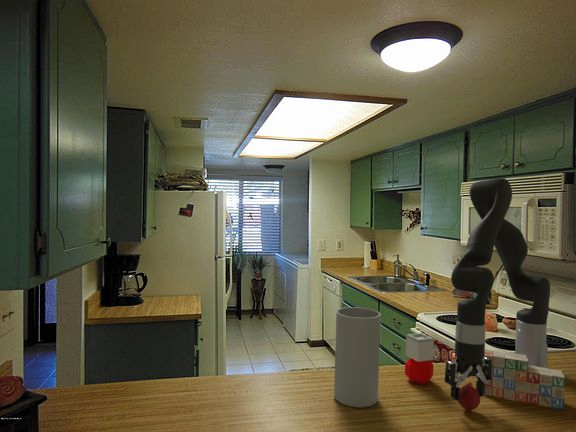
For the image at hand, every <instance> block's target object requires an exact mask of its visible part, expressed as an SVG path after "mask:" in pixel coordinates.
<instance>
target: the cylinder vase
mask: <svg viewBox="0 0 576 432" xmlns="http://www.w3.org/2000/svg"><path fill="white" fill-rule="evenodd" d="M335 312H336V318H335V319H336V320H335V348H334V349H335V352H334V380H333V383H334V385H333V387H334V388H333V389H334V391H333V396H334V398H335V400H336V401H338V402H339V403H340V404H341V405H344V406H347V407H349V408H351V407H352V408H358V409H359V408H369V407H372V406H374V405H375V404H376V403H377V402H378V400H379V378H380V377H379V374H380V369H379V368H380V347H381V346H380V343H381V342H380V341H381V338H380V337H381V313H380V311H377V310H375V309H372V308H367V307H366V308H365V307H354V306H353V307H351V306H350V307H340V308H338V309H337V310H336V311H335Z"/></svg>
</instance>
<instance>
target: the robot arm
mask: <svg viewBox="0 0 576 432" xmlns="http://www.w3.org/2000/svg"><path fill="white" fill-rule="evenodd" d="M511 185H512V184H510V182H509V180H507V179H506V178H503V177H499V178H493V179H486V180H480V181H475V182H473V183H472V184H471V185H470V187H469V198H470V201H471V204H472V205H473V208H474V209H475V211H476V213H477V215H478V216H479V218H480V219H481V221H479V223H477V224H476V225H475V227H473V229H472V230H471V232H470V233H469V236H468V238H467V239H468V240H467V242H466V247H465V251H464V252H463V254H462V256H461V258H460V259H459V261H458V262H457V264H456V265H455V266H454V268H453V271H452V273H451V276H450V277H451V278H450V279H451V284H452V286H453V288H454V289H456V290H458V291H462V292H469V293H474V294H475V293H476V295H477V296H475V298H472V299H471V298H469V299H461V300H459V301H458V302H457V306H456V307H457V309H456V310H457V311H456V312H457V313H456V326H455V335H454V337H455V338H454V339H455V340H454V353H455V357H456V358H455V361H449V360H446V362H445V373H444V383H446V384H448V385H449V386H450V397H451V398H452V400H454V401H456V402H458V401H459V399H460V388H461V387H460V386H461V384H462V383H463V382H465V381H466V379H467V378H470V377H475V379H476V381H475V389H476V390H477V391H478V393H479V395H480V398H482V397H484V396H485V395H484V393H485V383H486V382H487V381H488V380H491V379H492V360H491V359H489V358H486V357H484V356H485V349H486V326H485V325H486V308H487V303H488V300H489V297H490V294H491V291H492V290H493V286H494V283H495V277H494V273H493V272H492V270H491V269H490V268H488V267H483V266H487V265H488V264H490V262H491V260H492V258H493V257H492V256H493V254H494V253H493V252H494V249H495V250H496V253H497V255H498V257H499V258H500V261H501V262H502V266H503V268H504V270H505V273H506V277H507V279H508V283H509V287H510V289H511V292H512V294H513V295H514V297H515V298H516V299H518V300H520V301H525V302H530V303H532V307H531V308H528V309H520V310H518V311H517V312H516V314H515V315H516V317H515V318H516V319H515V321H516V323H515V324H516V325H515V347H514V348H515V349H514V350H515V351H514V353H515V354H522V355H526V357H527V359H528V361H529V365H530V366H536V367H543V368H548V352H549V351H548V348H549V347H548V346H549V344H547V328H548V327H547V326H548V315H549V309H550V297H551V283H550V280H549V279H548V278H547V277H544V276H539V275H534V274H533V275H532V274H526V273H525V272H524V271H523V268H522V265H523V263H524V261H525V260H526V258H527V257H528V251H529V247H528V244H527V241H526V239H525V237H524V235H523V232H522V231H521V230H520V229H519V228H518V227H517V226H515V224H513V223H512V222H510V221H508V219H505V217H506V215H507V212H509V211H508V210H509V209H510V206H511V203H512V199H513V191H512V189H513V188H512V186H511ZM481 367H482V370H481ZM486 371H487V374H486Z"/></svg>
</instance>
